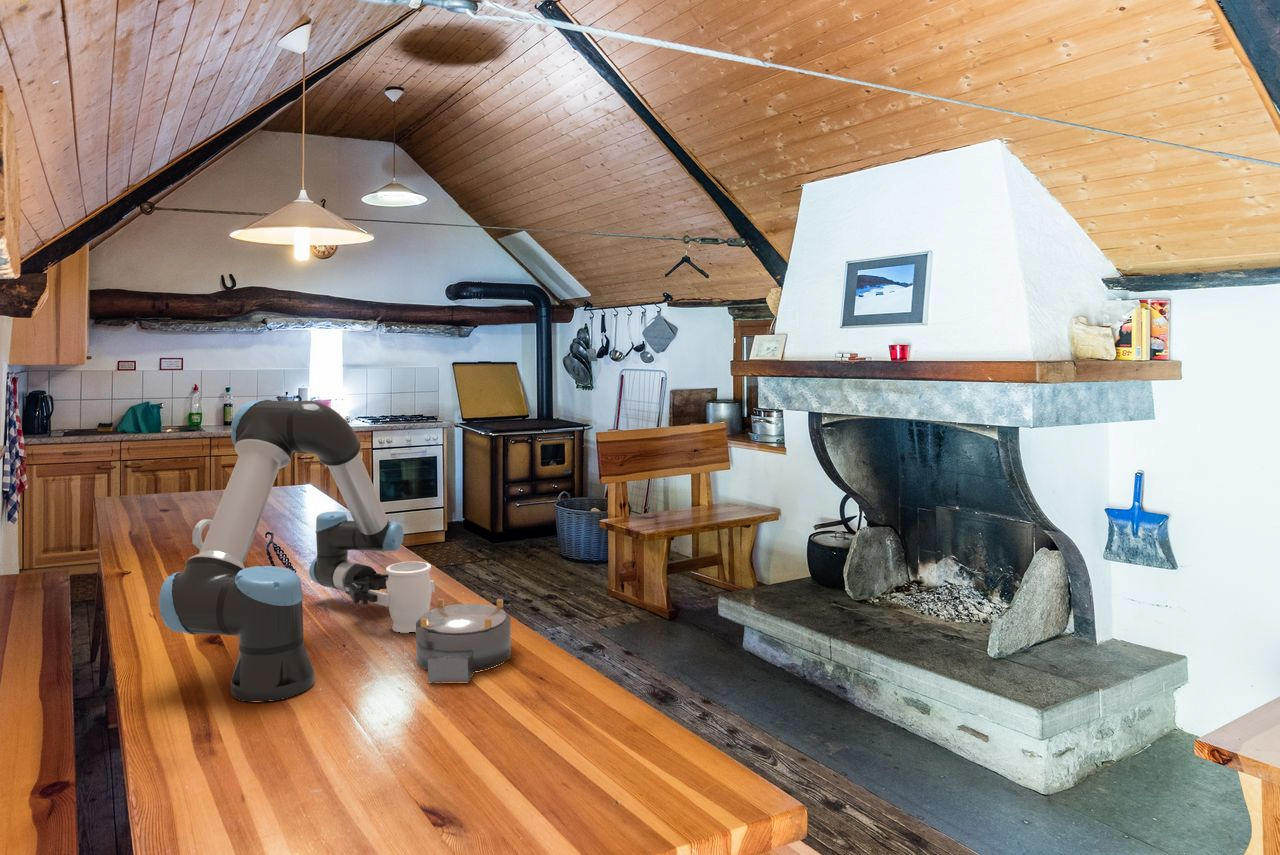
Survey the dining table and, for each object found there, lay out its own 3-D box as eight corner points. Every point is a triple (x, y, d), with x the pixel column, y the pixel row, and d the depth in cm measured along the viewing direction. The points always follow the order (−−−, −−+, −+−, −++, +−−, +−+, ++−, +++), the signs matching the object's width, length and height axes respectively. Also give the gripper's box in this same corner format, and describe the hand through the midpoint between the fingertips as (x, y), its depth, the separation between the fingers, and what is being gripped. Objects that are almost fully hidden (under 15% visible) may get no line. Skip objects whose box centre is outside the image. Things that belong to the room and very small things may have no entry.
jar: (384, 624, 203) (382, 563, 201) (427, 618, 207) (426, 559, 206) (391, 638, 193) (389, 574, 192) (436, 631, 198) (435, 569, 196)
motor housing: (498, 683, 168) (497, 632, 166) (398, 683, 168) (396, 631, 167) (517, 640, 192) (517, 595, 191) (430, 639, 192) (429, 594, 191)
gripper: (396, 582, 223) (451, 596, 210) (312, 605, 202) (367, 622, 190) (395, 554, 222) (450, 566, 210) (311, 575, 202) (366, 590, 189)
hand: (411, 593), depth 200 cm, fingers open, 13 cm apart
